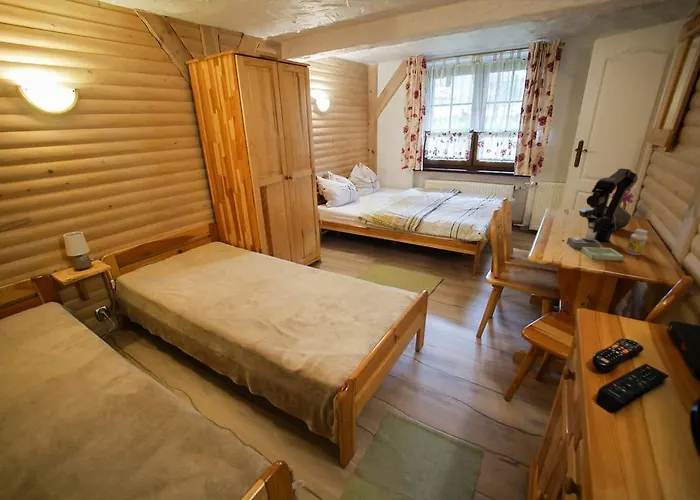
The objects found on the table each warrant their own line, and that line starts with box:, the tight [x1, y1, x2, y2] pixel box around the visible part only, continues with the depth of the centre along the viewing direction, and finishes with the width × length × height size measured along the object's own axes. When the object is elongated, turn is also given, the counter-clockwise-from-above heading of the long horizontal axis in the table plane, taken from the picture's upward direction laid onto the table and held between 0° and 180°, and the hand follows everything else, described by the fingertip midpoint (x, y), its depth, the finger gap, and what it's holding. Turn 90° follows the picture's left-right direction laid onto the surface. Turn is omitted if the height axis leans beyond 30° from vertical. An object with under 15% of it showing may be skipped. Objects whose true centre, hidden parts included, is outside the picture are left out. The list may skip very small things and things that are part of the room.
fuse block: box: [566, 237, 602, 250], centre depth 178 cm, size 13×8×4 cm, turn 82°
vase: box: [605, 186, 634, 230], centre depth 200 cm, size 17×18×30 cm
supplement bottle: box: [625, 228, 649, 256], centre depth 167 cm, size 7×7×13 cm
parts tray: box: [580, 247, 625, 262], centre depth 166 cm, size 14×11×2 cm
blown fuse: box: [584, 222, 596, 240], centre depth 175 cm, size 4×4×9 cm
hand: (592, 231), depth 175 cm, fingers closed on blown fuse, 4 cm apart
